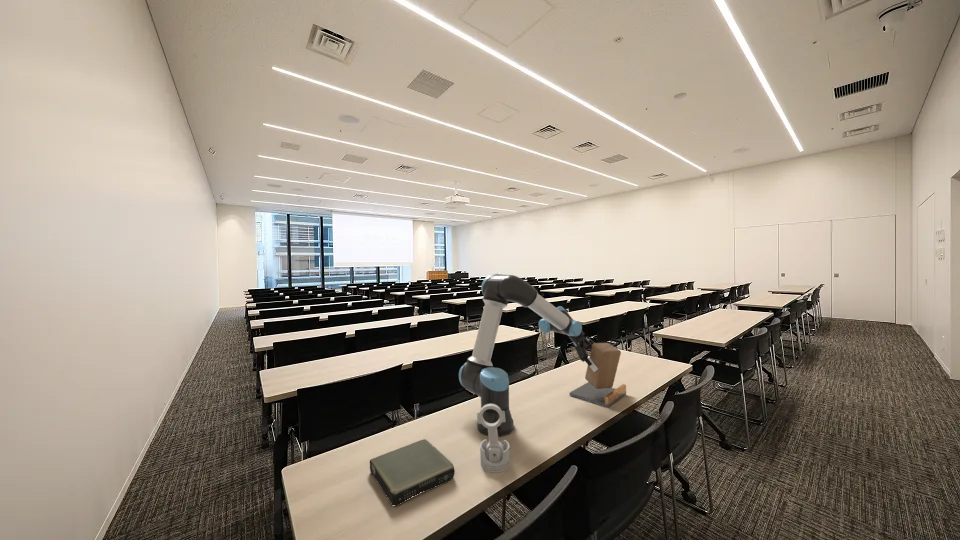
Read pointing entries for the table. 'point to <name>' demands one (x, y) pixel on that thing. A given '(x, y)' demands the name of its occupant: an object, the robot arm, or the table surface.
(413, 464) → the network switch
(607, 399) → the mounting plate
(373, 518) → the table surface
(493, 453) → the engine component
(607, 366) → the wooden block
